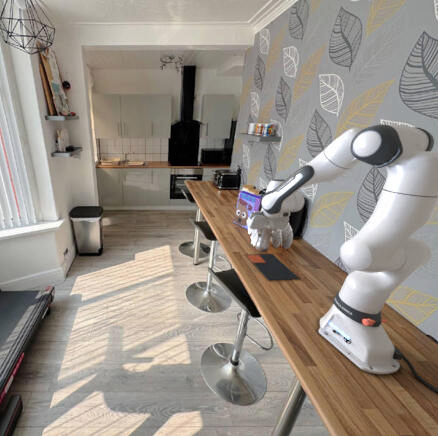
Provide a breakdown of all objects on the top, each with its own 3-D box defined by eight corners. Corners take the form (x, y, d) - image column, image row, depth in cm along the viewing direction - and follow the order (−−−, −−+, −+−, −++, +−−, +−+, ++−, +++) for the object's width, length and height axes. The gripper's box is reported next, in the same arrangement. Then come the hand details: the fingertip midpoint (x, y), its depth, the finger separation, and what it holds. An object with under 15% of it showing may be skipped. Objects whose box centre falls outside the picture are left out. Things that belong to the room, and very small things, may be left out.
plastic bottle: (269, 254, 121) (279, 218, 113) (255, 252, 122) (264, 217, 115) (265, 248, 127) (275, 214, 119) (252, 246, 128) (261, 212, 120)
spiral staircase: (288, 256, 140) (246, 251, 141) (279, 233, 152) (241, 228, 152) (305, 238, 127) (259, 233, 127) (295, 214, 138) (252, 209, 139)
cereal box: (233, 222, 174) (239, 191, 164) (237, 221, 176) (244, 190, 166) (252, 232, 160) (260, 198, 150) (257, 231, 162) (265, 198, 152)
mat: (299, 279, 114) (299, 278, 113) (268, 280, 112) (269, 279, 111) (272, 254, 134) (272, 253, 133) (245, 255, 132) (245, 254, 131)
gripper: (254, 213, 112) (248, 239, 117) (293, 213, 115) (285, 238, 120) (248, 208, 118) (242, 233, 123) (285, 208, 120) (278, 232, 126)
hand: (264, 235), depth 122 cm, fingers closed on plastic bottle, 5 cm apart
